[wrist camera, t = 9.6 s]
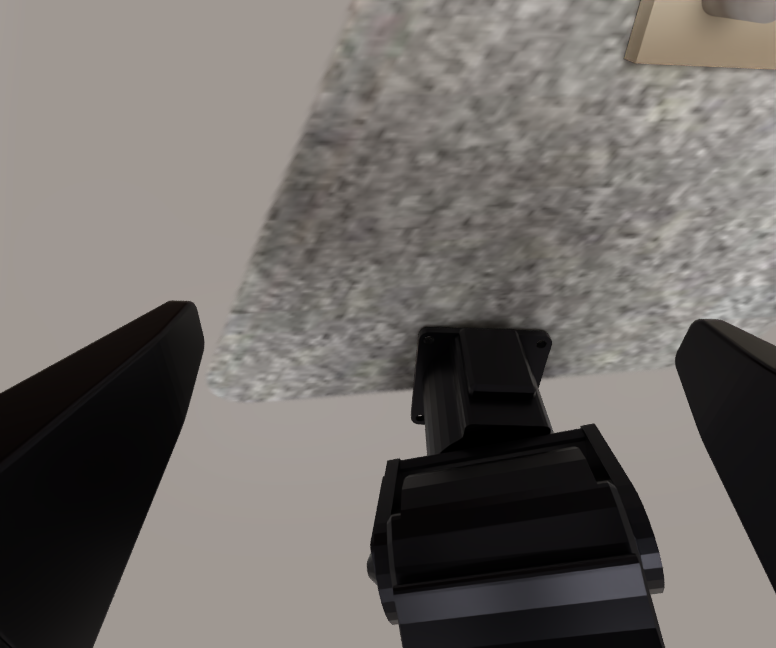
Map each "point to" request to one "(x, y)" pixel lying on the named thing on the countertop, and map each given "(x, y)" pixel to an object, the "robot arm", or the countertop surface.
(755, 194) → the countertop surface
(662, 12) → the pin board
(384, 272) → the countertop surface
